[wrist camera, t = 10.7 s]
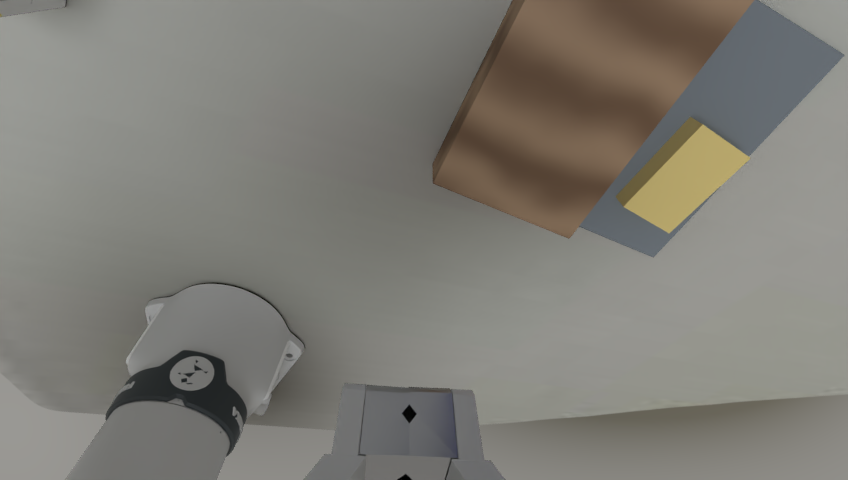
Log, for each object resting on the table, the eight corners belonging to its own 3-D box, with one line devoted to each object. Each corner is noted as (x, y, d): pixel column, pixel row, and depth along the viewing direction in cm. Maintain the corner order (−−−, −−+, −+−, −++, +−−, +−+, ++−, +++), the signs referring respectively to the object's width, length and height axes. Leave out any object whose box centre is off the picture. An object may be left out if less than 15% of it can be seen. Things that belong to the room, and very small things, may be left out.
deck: (558, 216, 42) (569, 238, 39) (432, 164, 39) (432, 183, 36) (728, -17, 31) (765, -14, 27) (569, -117, 27) (589, -128, 24)
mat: (652, 255, 45) (653, 257, 44) (566, 220, 42) (567, 221, 42) (841, 54, 33) (844, 55, 33) (738, -11, 31) (741, -11, 31)
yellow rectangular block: (623, 206, 39) (615, 196, 40) (669, 233, 40) (659, 222, 42) (702, 124, 34) (690, 116, 36) (750, 158, 36) (736, 149, 37)
